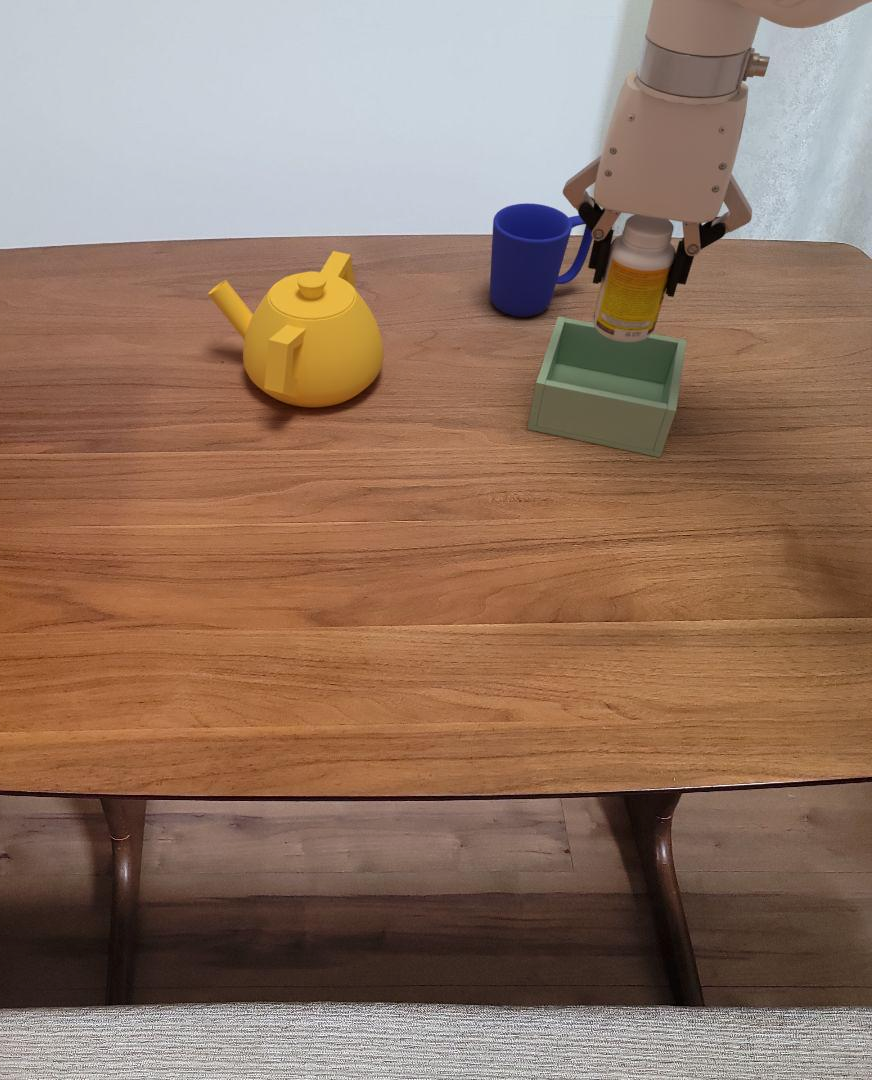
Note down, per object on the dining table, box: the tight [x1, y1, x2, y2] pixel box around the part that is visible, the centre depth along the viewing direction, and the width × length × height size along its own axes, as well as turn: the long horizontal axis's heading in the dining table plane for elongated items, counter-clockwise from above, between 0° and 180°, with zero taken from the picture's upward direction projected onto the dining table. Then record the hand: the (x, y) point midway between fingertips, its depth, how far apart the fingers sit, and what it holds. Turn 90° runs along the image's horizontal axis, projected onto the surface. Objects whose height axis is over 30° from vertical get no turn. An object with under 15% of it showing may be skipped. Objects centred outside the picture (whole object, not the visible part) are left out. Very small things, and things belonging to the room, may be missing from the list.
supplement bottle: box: [592, 214, 677, 342], centre depth 81 cm, size 6×6×10 cm
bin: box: [526, 316, 688, 458], centre depth 90 cm, size 13×12×6 cm
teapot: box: [207, 250, 384, 408], centre depth 92 cm, size 20×18×11 cm
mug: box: [489, 203, 594, 318], centre depth 102 cm, size 8×12×10 cm
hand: (634, 280), depth 82 cm, fingers closed on supplement bottle, 5 cm apart
